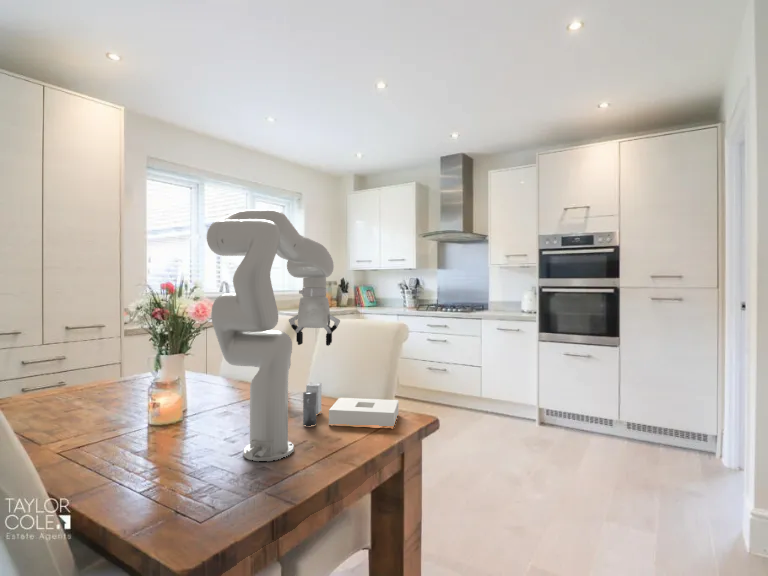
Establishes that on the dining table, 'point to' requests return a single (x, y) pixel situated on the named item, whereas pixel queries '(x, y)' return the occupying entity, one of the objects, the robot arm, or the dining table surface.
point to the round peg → (309, 408)
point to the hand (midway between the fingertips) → (314, 344)
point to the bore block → (364, 412)
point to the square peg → (317, 389)
